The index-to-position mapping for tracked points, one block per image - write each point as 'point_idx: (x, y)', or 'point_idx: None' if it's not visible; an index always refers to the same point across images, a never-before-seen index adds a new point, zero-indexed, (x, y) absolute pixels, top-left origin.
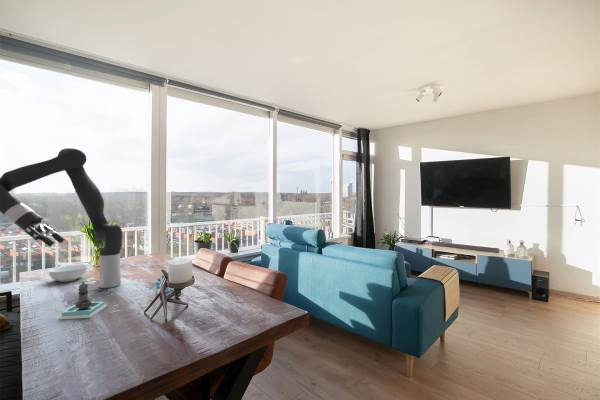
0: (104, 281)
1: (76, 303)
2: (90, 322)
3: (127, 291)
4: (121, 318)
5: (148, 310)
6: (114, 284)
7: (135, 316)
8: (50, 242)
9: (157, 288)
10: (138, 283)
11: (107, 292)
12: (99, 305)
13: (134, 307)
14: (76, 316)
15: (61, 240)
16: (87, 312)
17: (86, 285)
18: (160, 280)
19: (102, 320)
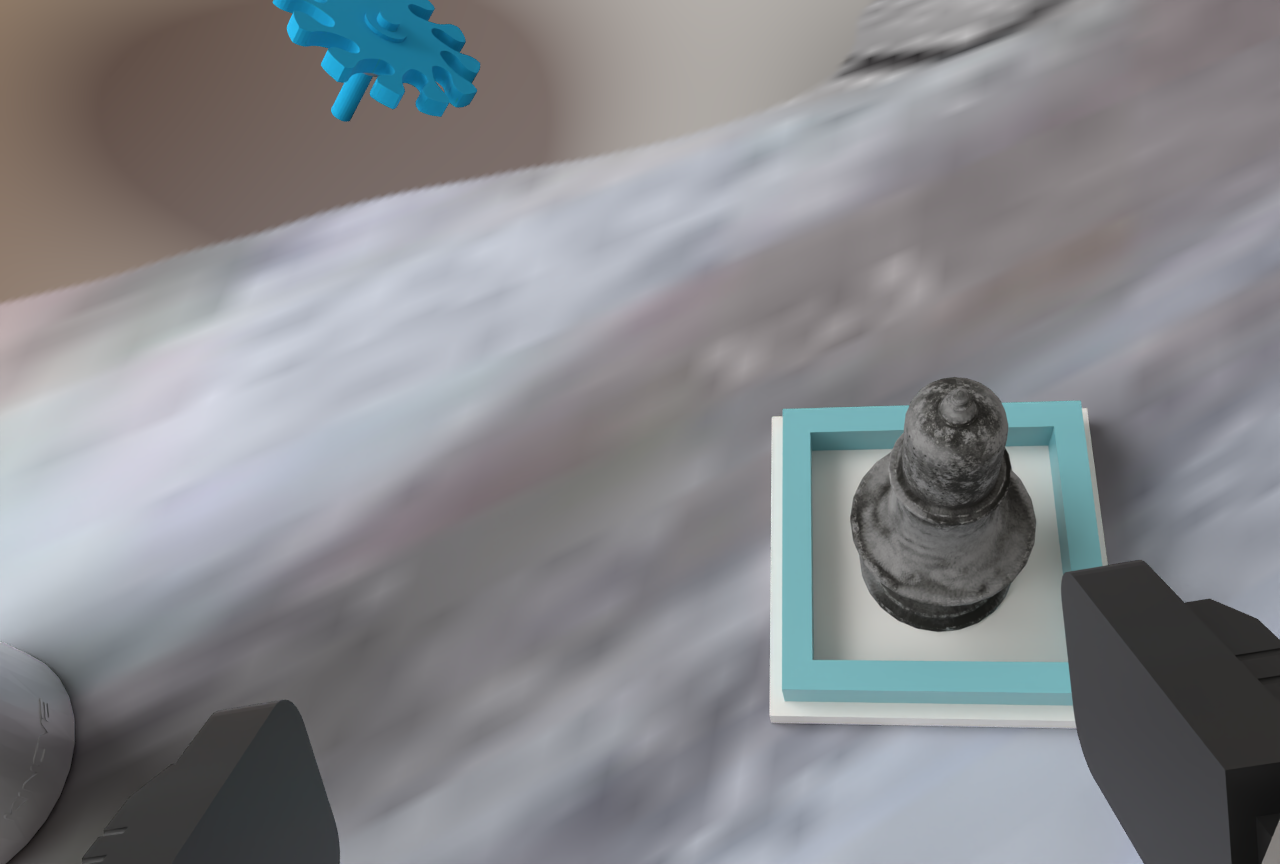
0: (4, 765)
1: (1012, 559)
2: (1200, 361)
3: (301, 445)
4: (1104, 156)
5: (926, 39)
6: (39, 667)
7: (1061, 75)
8: (1234, 619)
9: (446, 103)
10: (20, 456)
11: (261, 662)
12: (890, 409)
13: (836, 171)
14: (1103, 542)
15: (298, 795)
16: (1080, 431)
17: (960, 378)
18: (358, 53)
19: (1150, 283)
